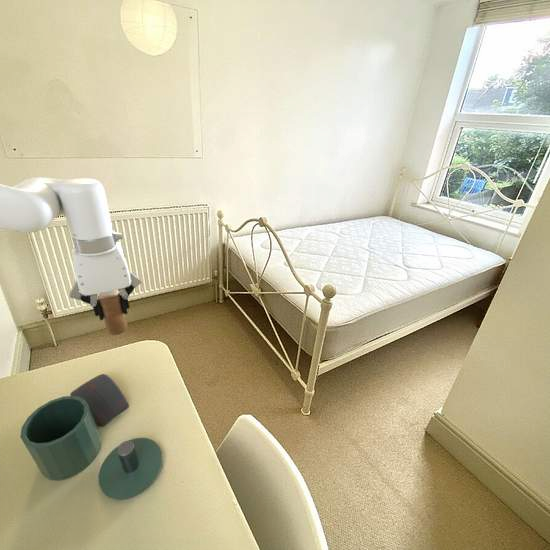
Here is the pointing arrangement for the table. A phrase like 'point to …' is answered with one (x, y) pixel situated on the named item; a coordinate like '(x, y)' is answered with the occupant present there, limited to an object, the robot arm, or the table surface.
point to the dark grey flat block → (102, 398)
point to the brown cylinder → (113, 312)
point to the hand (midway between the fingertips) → (113, 313)
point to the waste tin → (62, 437)
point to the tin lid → (130, 468)
